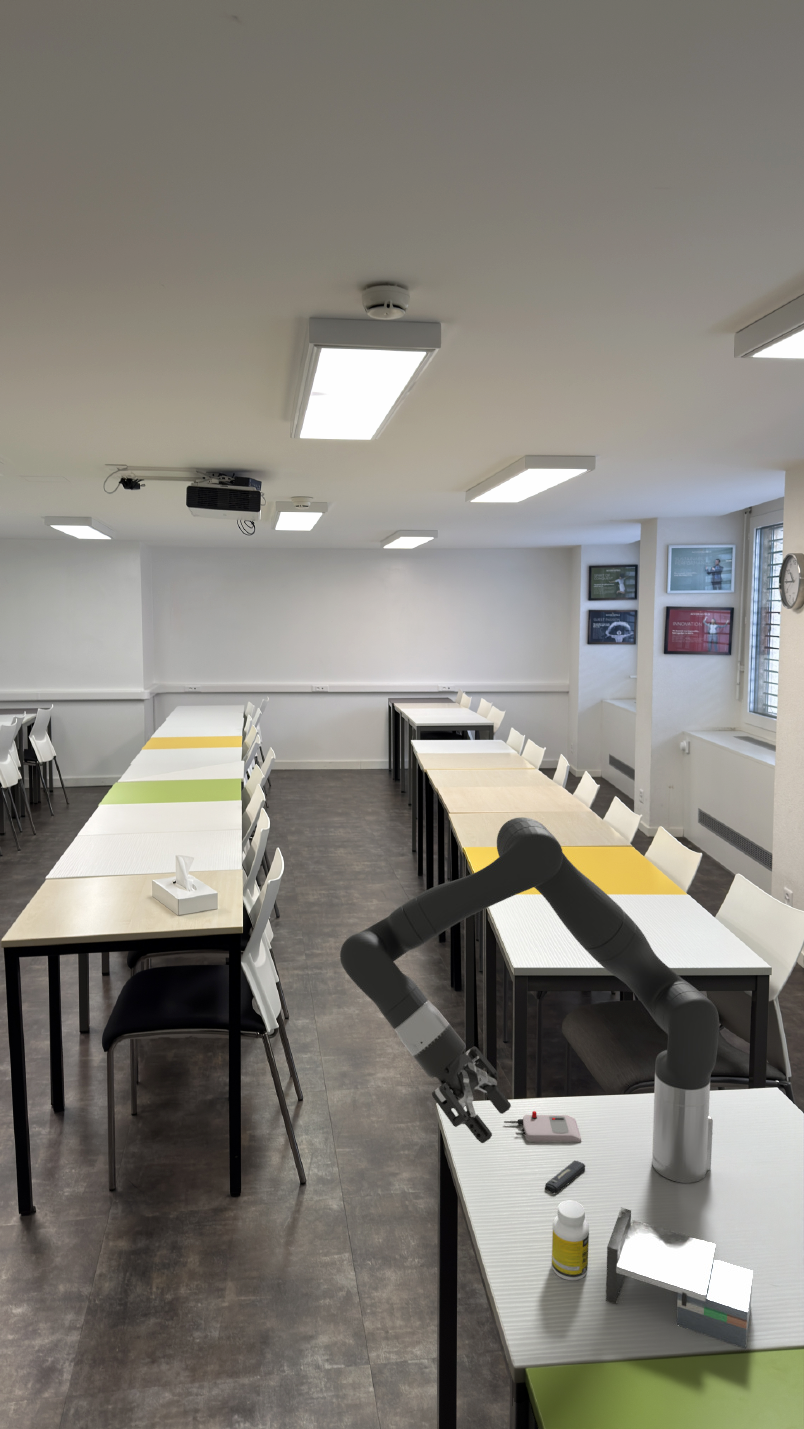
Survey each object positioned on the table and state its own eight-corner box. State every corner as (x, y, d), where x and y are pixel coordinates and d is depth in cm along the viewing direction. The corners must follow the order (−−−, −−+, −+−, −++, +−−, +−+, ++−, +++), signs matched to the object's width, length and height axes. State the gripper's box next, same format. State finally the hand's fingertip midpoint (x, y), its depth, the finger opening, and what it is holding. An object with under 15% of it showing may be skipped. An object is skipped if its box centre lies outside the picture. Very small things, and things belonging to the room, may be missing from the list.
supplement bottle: (588, 1284, 131) (589, 1223, 130) (550, 1279, 132) (551, 1218, 131) (587, 1257, 136) (589, 1199, 135) (552, 1252, 137) (553, 1194, 136)
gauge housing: (676, 1326, 123) (677, 1290, 123) (685, 1285, 131) (686, 1251, 130) (745, 1349, 120) (747, 1312, 119) (750, 1306, 127) (752, 1271, 126)
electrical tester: (591, 1144, 165) (591, 1129, 165) (506, 1143, 165) (506, 1128, 165) (584, 1122, 172) (585, 1108, 171) (503, 1122, 172) (503, 1108, 172)
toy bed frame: (604, 1304, 127) (606, 1249, 126) (620, 1255, 136) (622, 1204, 135) (703, 1338, 121) (706, 1281, 120) (713, 1284, 130) (715, 1231, 129)
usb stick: (574, 1165, 159) (574, 1157, 159) (586, 1171, 157) (587, 1163, 157) (543, 1190, 152) (543, 1181, 152) (555, 1197, 151) (556, 1189, 150)
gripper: (426, 1046, 132) (498, 1138, 129) (462, 1006, 145) (528, 1089, 141) (394, 1071, 135) (463, 1162, 132) (432, 1030, 148) (496, 1112, 144)
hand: (497, 1124), depth 137 cm, fingers open, 8 cm apart
